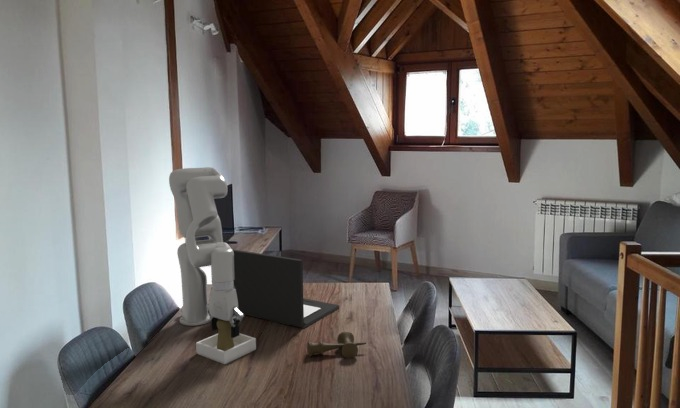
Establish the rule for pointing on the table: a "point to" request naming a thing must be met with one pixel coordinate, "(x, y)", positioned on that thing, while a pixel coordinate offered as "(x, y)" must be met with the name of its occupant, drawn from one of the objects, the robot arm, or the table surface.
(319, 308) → the laptop
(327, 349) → the kendama
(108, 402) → the table surface
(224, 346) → the cork
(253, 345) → the box
